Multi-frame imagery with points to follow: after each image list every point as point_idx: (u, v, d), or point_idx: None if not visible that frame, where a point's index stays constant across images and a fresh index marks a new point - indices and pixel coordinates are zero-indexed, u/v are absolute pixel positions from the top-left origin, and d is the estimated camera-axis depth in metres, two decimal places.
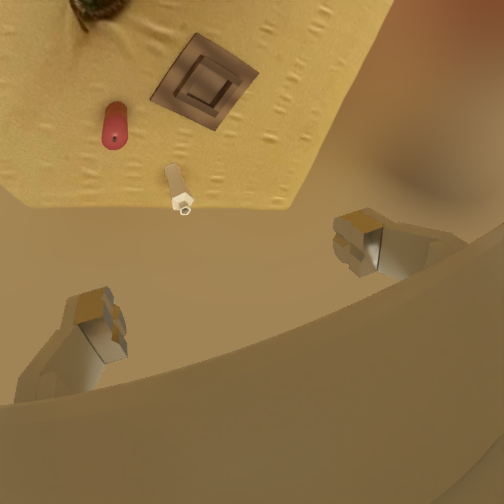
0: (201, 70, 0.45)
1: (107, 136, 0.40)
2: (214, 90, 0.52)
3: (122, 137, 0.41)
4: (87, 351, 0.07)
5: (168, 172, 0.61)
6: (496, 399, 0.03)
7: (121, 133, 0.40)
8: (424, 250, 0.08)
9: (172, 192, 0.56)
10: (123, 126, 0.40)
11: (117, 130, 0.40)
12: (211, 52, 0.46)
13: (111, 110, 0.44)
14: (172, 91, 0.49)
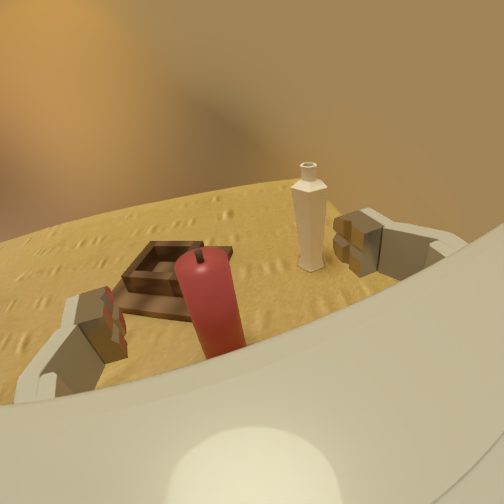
0: (138, 272, 0.39)
1: (197, 271, 0.22)
2: None
3: None
4: (87, 351, 0.07)
5: (309, 256, 0.41)
6: (496, 399, 0.03)
7: (191, 256, 0.24)
8: (424, 250, 0.08)
9: (306, 205, 0.36)
10: None
11: (184, 262, 0.24)
12: None
13: (200, 342, 0.27)
14: (181, 299, 0.38)
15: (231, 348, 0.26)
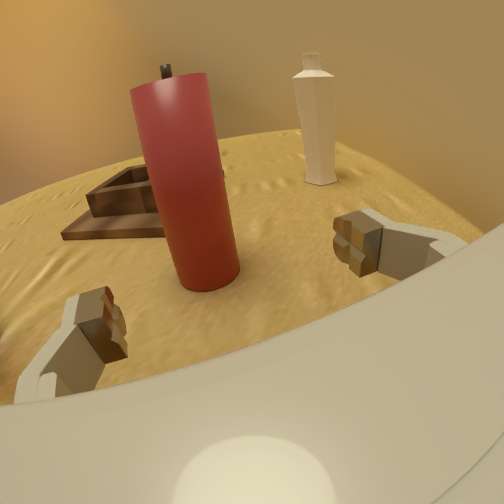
0: (106, 188, 0.30)
1: None
2: None
3: None
4: (87, 351, 0.07)
5: (318, 164, 0.31)
6: (496, 398, 0.03)
7: None
8: (424, 250, 0.08)
9: (311, 93, 0.26)
10: None
11: None
12: None
13: (162, 224, 0.17)
14: (153, 214, 0.29)
15: (209, 228, 0.17)
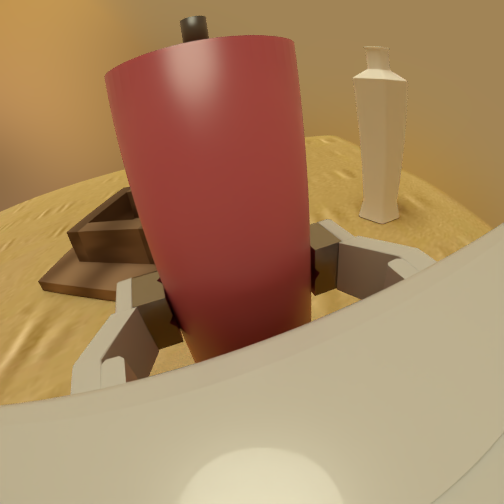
0: (94, 224, 0.22)
1: None
2: None
3: None
4: (144, 335, 0.07)
5: (381, 197, 0.23)
6: (495, 398, 0.03)
7: None
8: (385, 268, 0.08)
9: (381, 101, 0.18)
10: None
11: None
12: None
13: (192, 353, 0.09)
14: None
15: None
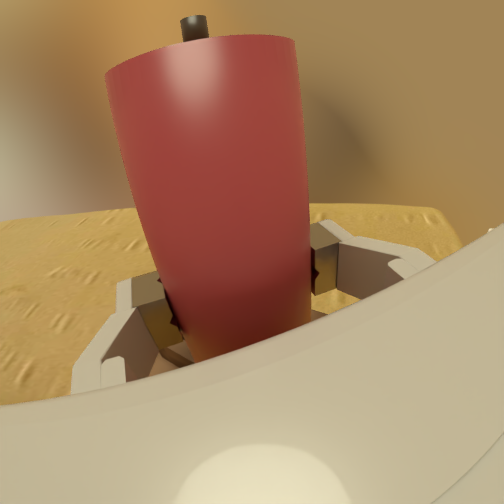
0: None
1: None
2: None
3: None
4: (144, 335, 0.07)
5: None
6: (496, 398, 0.03)
7: None
8: (385, 268, 0.08)
9: None
10: None
11: None
12: None
13: (191, 353, 0.09)
14: None
15: None
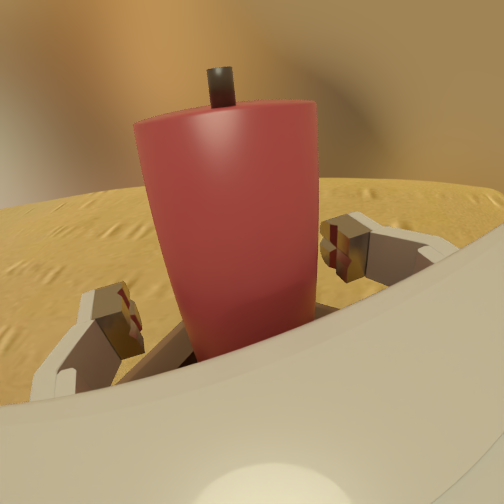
0: None
1: (213, 111, 0.05)
2: None
3: None
4: (104, 346, 0.07)
5: None
6: (496, 398, 0.03)
7: (191, 109, 0.07)
8: (413, 255, 0.08)
9: None
10: None
11: (170, 114, 0.07)
12: None
13: None
14: None
15: None
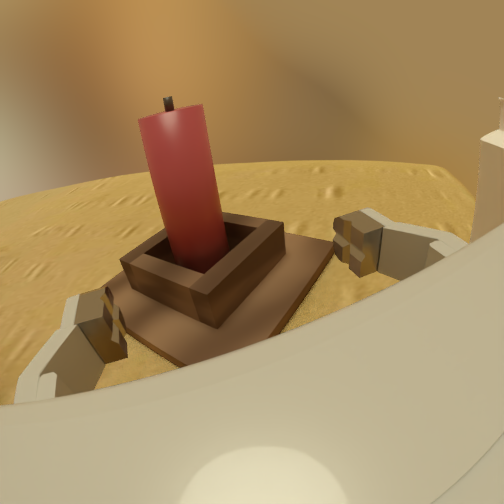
0: (148, 258, 0.21)
1: (163, 113, 0.16)
2: None
3: None
4: (87, 351, 0.07)
5: None
6: (495, 398, 0.03)
7: None
8: (424, 250, 0.08)
9: None
10: None
11: (151, 115, 0.17)
12: None
13: (167, 232, 0.21)
14: (210, 331, 0.19)
15: (206, 236, 0.20)
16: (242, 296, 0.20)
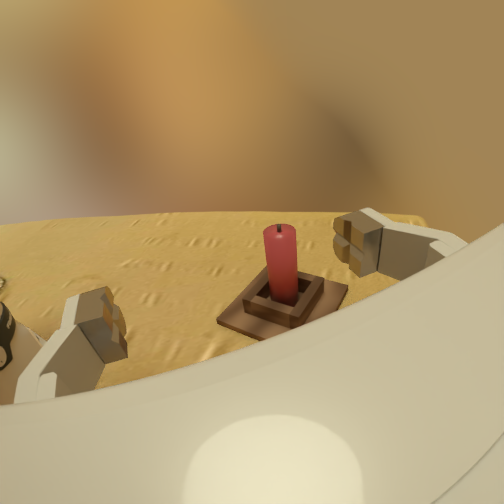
0: (260, 298, 0.44)
1: (279, 236, 0.39)
2: None
3: (276, 227, 0.41)
4: (87, 351, 0.07)
5: None
6: (496, 399, 0.03)
7: (271, 229, 0.41)
8: (424, 250, 0.08)
9: None
10: None
11: (269, 232, 0.40)
12: (242, 303, 0.48)
13: (271, 286, 0.43)
14: None
15: (292, 288, 0.43)
16: (307, 315, 0.43)
